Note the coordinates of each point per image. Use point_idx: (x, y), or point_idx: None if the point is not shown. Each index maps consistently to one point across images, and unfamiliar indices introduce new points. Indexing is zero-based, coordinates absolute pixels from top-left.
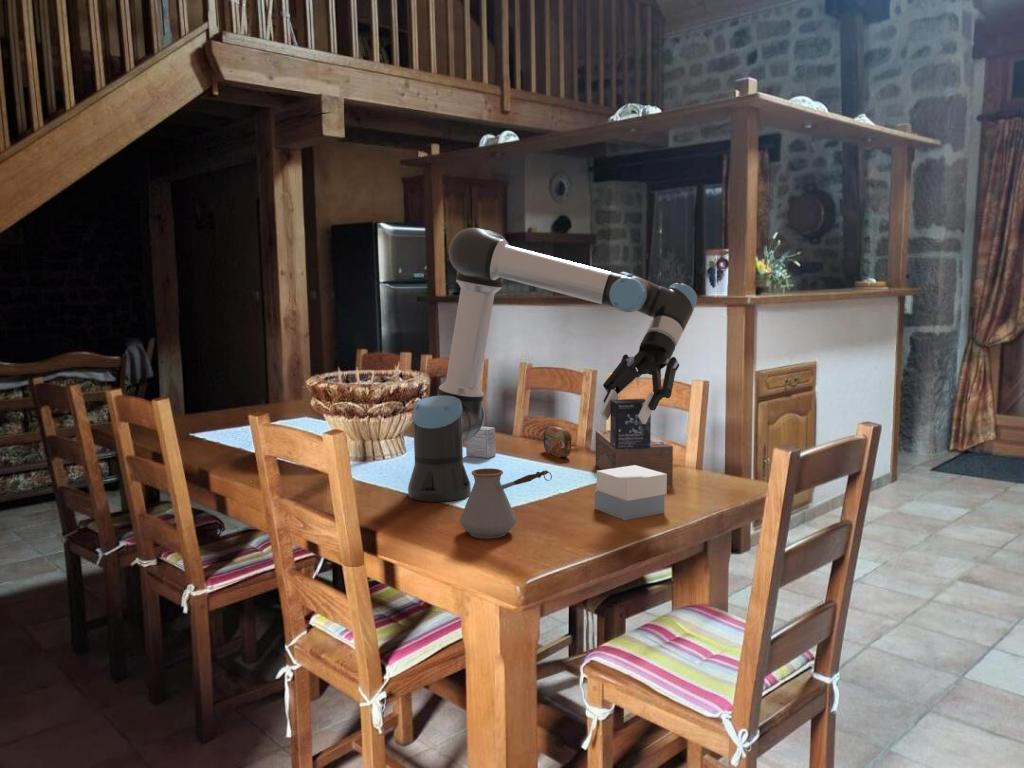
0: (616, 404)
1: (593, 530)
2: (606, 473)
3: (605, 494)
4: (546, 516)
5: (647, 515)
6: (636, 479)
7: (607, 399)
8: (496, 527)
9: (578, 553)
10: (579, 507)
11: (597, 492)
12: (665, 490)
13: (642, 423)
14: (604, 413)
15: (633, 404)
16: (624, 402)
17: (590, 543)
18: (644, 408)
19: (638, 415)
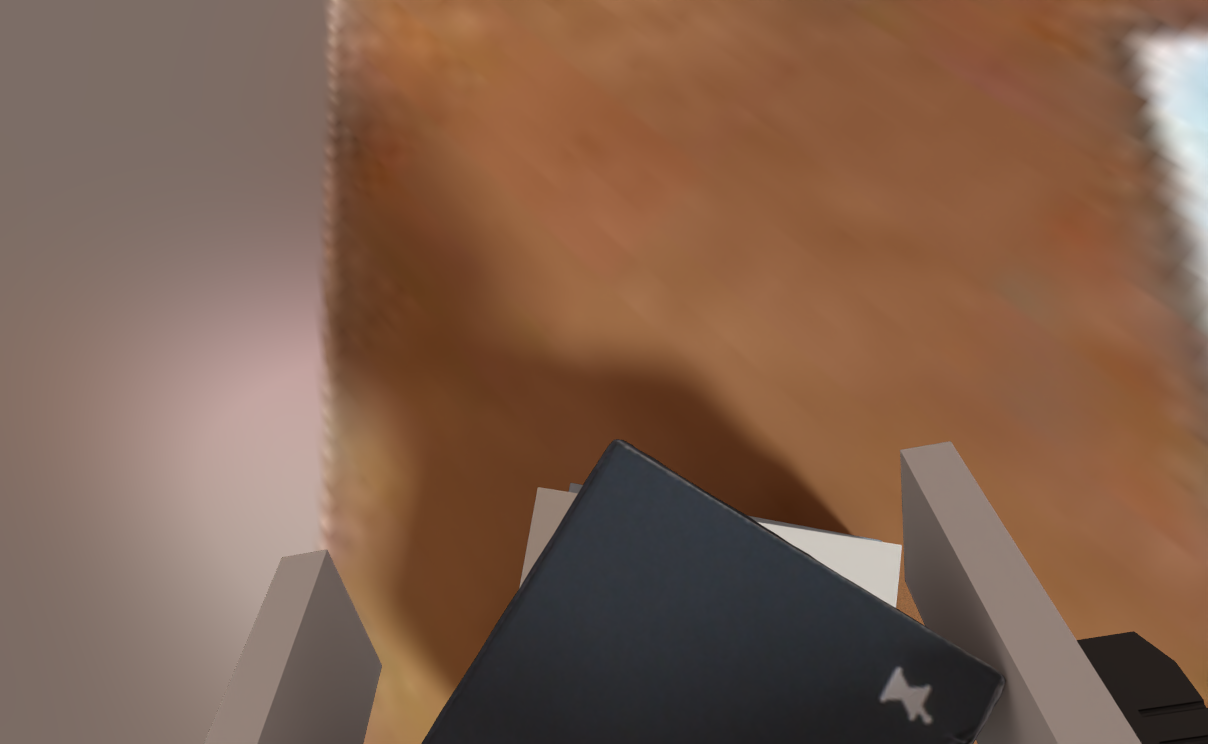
0: (628, 444)
1: (568, 257)
2: (785, 534)
3: (762, 520)
4: (907, 243)
5: None
6: (524, 567)
7: (1040, 625)
8: None
9: (396, 15)
10: None
11: (849, 535)
12: None
13: (376, 659)
14: (906, 495)
15: (459, 684)
16: (565, 578)
17: (447, 125)
18: (240, 665)
19: (318, 558)
